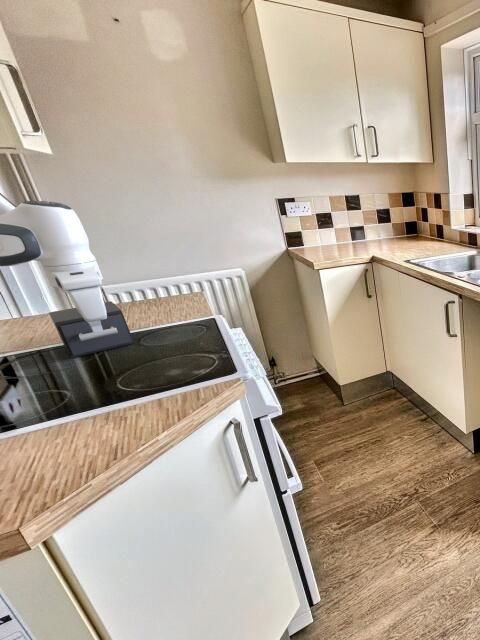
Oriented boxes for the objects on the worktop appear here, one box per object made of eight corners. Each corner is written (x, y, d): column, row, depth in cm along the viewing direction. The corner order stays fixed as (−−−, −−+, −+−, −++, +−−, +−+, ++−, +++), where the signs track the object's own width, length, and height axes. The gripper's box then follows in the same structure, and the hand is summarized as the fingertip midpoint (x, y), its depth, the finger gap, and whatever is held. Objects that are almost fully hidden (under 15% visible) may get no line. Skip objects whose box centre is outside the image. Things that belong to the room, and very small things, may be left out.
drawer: (135, 345, 111) (124, 317, 108) (76, 359, 103) (62, 330, 100) (121, 331, 121) (111, 306, 118) (66, 344, 113) (54, 316, 110)
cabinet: (134, 343, 115) (121, 309, 112) (71, 358, 106) (54, 322, 103) (123, 332, 124) (111, 301, 120) (64, 345, 115) (48, 312, 111)
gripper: (50, 271, 101) (73, 325, 106) (61, 284, 88) (86, 344, 94) (86, 267, 105) (106, 319, 110) (101, 278, 93) (123, 336, 98)
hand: (97, 331), depth 102 cm, fingers closed
